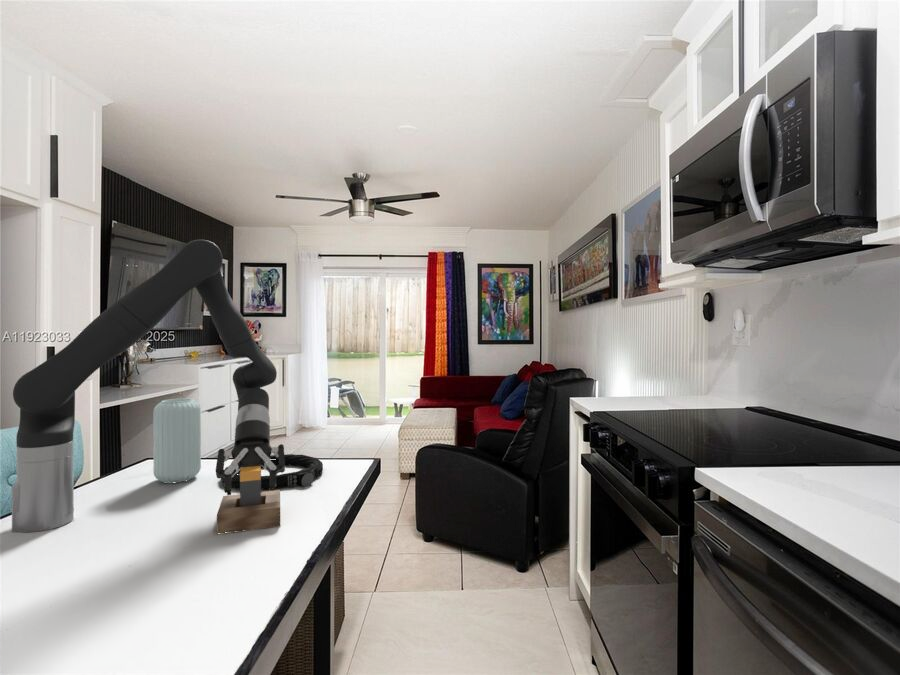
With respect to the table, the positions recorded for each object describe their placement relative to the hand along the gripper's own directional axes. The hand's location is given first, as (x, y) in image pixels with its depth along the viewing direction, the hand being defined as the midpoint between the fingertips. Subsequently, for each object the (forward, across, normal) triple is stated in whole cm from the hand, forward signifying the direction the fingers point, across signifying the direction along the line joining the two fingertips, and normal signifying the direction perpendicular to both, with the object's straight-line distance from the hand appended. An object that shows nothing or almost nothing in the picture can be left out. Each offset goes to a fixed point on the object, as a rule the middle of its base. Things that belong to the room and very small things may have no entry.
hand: (250, 491), depth 102 cm
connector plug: (+3, 0, +5) cm, 6 cm away
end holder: (+4, 0, +6) cm, 7 cm away
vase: (-24, -21, +34) cm, 47 cm away
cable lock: (-19, +5, +29) cm, 35 cm away
